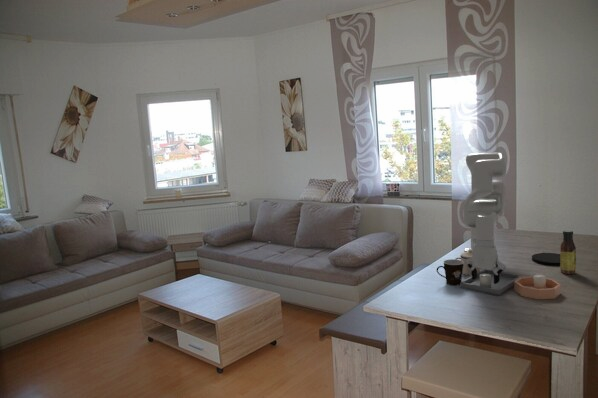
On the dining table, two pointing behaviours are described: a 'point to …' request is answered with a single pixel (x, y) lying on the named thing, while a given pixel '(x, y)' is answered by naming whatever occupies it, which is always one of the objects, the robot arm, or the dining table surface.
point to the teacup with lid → (465, 266)
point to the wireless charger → (547, 259)
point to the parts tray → (496, 289)
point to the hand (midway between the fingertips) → (485, 280)
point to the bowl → (527, 289)
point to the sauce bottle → (568, 253)
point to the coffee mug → (452, 271)
